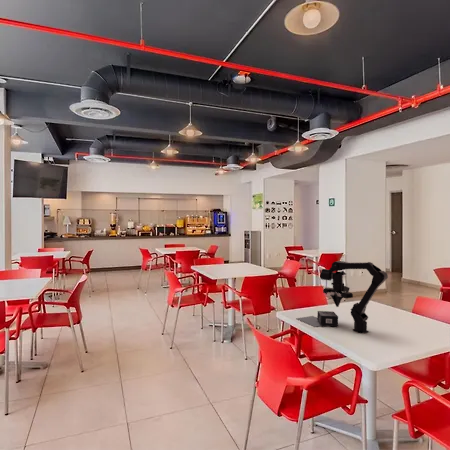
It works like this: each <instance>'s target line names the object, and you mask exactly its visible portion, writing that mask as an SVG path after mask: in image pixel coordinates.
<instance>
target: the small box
mask: <svg viewBox="0 0 450 450" xmlns="http://www.w3.org/2000/svg"><path fill="white" fill-rule="evenodd" d="M316 317H317V320H318V322H319V323H320V325H322V326H321V327H325V326H326V327H338V326H339V315H337V313H335V311H332V310H331V311H327V310H326V311H325V310H318V311H317V316H316Z"/></svg>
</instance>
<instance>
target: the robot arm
mask: <svg viewBox="0 0 450 450" xmlns="http://www.w3.org/2000/svg"><path fill="white" fill-rule="evenodd" d="M345 270H367V271H368V273H369V274H370V276H372V279H371V284H370V285H369V287H368V288H367V289H366V291H365V292H364V295H363V296H362V298H361V299H360V301H359V302H356V303H353V306H352V308H351V309H350V316H351V317H352V319H353V328H352V331H354V332H357V333H359V334H365V333H369V330H367V329H368V322H367V321H368V319H369V316H368V314H366V309H367V306H368V304H369V303H370V301H371V300H372V298H373V297H374V295H375V294H376V292H377V290H378V289H379V287H380V286H381V285H382V284H383V283H384V282H386V281H387V279H388V278H389V276H388V273H387V272H386V271H385V270H382V269H380V268H379V267H378V266H376V265H375V264H374V263H373V262H371V261H368V262H348V261H343V260H337V261H334V262H332V263H331V267H330V268H329V269H326V268H322V269H321V272H320V275H319V278H320V280H322V281H332V282H331V286H332V287H324V288H323V291H322V292H323V293H324V294H328V293H330V295H329V296H330V297H331V299H332V301H333V303H334V305H335V307H336V308H339V306H340V304H341V301H342V300H343V299H352V298H353V297H354V294H353V293H352V292H351V291H350V287H348V286H346V285H345V283H344V282H343V280H344V279H343V276H346V275H347V273H346V272H345Z"/></svg>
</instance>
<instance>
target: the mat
mask: <svg viewBox="0 0 450 450" xmlns="http://www.w3.org/2000/svg"><path fill="white" fill-rule="evenodd" d="M295 320H297V321H299V320H300V322H302V323H304V324H306V323H307V325H309V326H311V327H314V328H320V327H323V326H322V325H320V323H319V322H318V320H317V316H314V315H310V316H303V317H297V318H296V319H295Z"/></svg>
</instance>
